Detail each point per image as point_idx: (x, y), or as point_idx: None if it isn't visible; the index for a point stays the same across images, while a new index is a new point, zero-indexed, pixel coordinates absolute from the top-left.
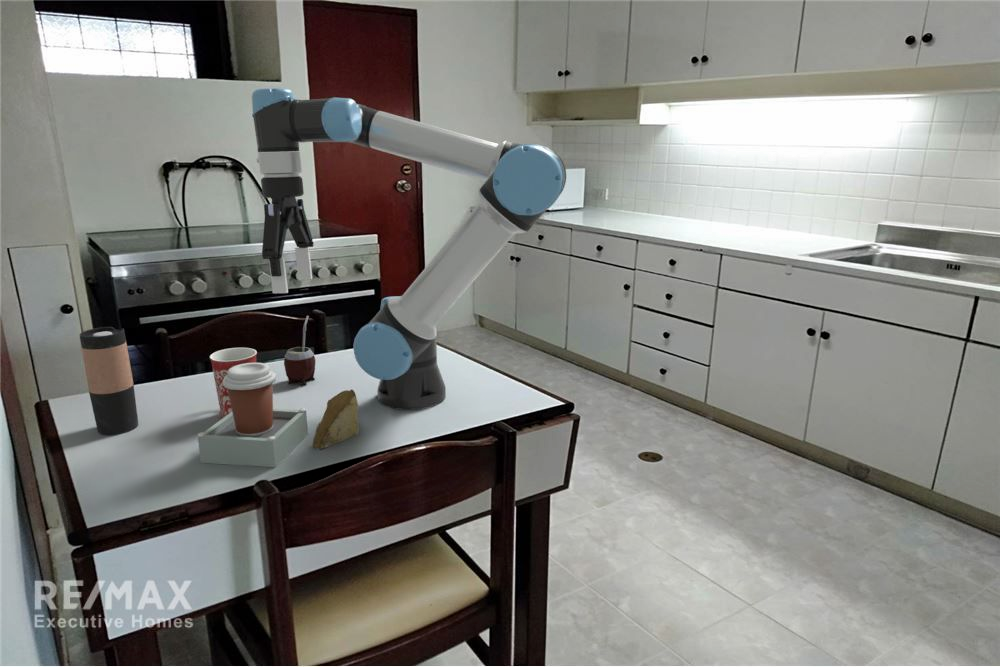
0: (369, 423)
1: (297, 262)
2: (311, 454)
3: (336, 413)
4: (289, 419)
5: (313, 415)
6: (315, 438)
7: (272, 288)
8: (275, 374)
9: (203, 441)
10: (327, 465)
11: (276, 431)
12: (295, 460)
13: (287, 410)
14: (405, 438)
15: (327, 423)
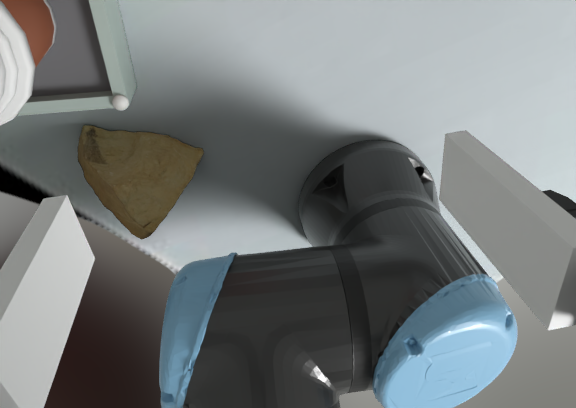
0: (224, 176)
1: (499, 191)
2: (56, 136)
3: (102, 200)
4: (101, 69)
5: (237, 47)
6: (81, 140)
7: (35, 215)
8: (10, 120)
9: None
10: (30, 182)
11: None
12: (18, 120)
13: (111, 62)
14: (180, 251)
15: (89, 177)
